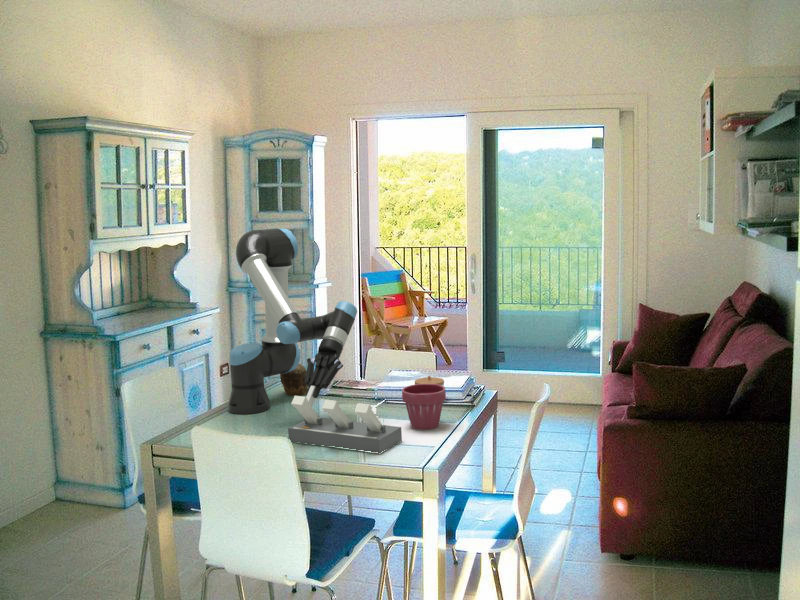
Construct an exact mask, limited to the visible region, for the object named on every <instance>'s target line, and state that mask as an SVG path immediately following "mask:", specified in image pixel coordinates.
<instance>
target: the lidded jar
mask: <svg viewBox="0 0 800 600" xmlns="http://www.w3.org/2000/svg"><path fill="white" fill-rule="evenodd" d="M416 384H437V385H441V386H443V387H445V385H444V384H445V380H444V379H443V378H441V377H433V376H431V375H428V376H427V377H426V376H425V377H419V378H418V379H415V380H414V385H416Z"/></svg>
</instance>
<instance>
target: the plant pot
mask: <svg viewBox="0 0 800 600" xmlns="http://www.w3.org/2000/svg"><path fill="white" fill-rule="evenodd" d="M446 396H447V395H446V388H445V386H444V387H443V386H441V385H437V384H416V385H415V384H411V385H407V386H405V387H403V388H402V389H401V397H402V402H403V403H404V404H405V408H406V411H407V415H408V418H409V421H410V425H411V426H410V427H411V428H412V429H414V430H418V429H419V430H420V431H423V430H425V431H428V430H433V429H437V428H438V427H439V426H440V421H441V414H442V410H443V406H444V405H443V403H444V401H446V398H447V397H446Z"/></svg>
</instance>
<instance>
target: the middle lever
mask: <svg viewBox="0 0 800 600" xmlns="http://www.w3.org/2000/svg"><path fill="white" fill-rule="evenodd" d="M321 409H322V410H323V411H324V412H326V413H327V414H328V415H329V417H330V419H333V420H334V422H335V423H336V424H337V426H339V427H349V422H350V421H351V420H350V418H349V417H348V416H347V415H346V414H345V411H343V410H342V408H341V407H340V403H339V402H338V401H337V400H333V399H331V400H330V399H325V400H324V402H323V404H322V407H321Z"/></svg>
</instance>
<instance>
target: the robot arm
mask: <svg viewBox="0 0 800 600" xmlns="http://www.w3.org/2000/svg"><path fill="white" fill-rule="evenodd" d="M298 253H299V245H298V240H297V238H296V236H295V235H294V233H293V232H292V231H290V229H289V228H288V229H287V228H270V229H269V228H267V229H257V230H254V229H253V230H250V231H247V232H246V233H244V234H243V235H242V236H241V237H240V238H239V240H238V242H237V245H236V248H235V257H236V261H237V262H236V263H238V265H239V268H240V269H241V271H242V272H243V273H244V274H247V275H248V277H249V278H250V281H251V282H252V284H253V286H254V287H255V289H256V290H257V291H258V293H259V295H260V296H261V298H262V300H263V301H264V307H265V308H264V310H265V311H264V313H265V314H264V315H265V335H264V336H263V337H262V338H261V343H260V342H259V343H258V342H249V343H244V344H243V343H242V344H239V345H237V346H235V347H233V348H232V349H231V350H230V351H229V367H230V381H231V391H230V395H229V398H228V404H227V411H228V412H229V413H232V414H237V415H250V414H257V413H258V414H259V413H262V412H265V411H267V410H269V409H271V401H270V398H269V395H268V393H267V390H266V388H265V379H264V378H268V377H274V376H278V375H280V374H285V373H287V372H291V371H293V370H295V368H296V367H297V366H298V364H300V360H301V349H300V348H299V344H298V343H301V342H307V341H315V340H321V342H320V344H319V346H318V351H317V353H316V354H315V356H314V357H313V358H311V357H308V358H307V359H306V362H307V367H306V371H307V372H306V378H305V384H306V385H307V386H308V389H307V392H306V394H305V397H306V398H307V399H308V403H309V405H310V406H311V407H313V405H314V402H315V399H318V397H319V394H320V392H321V390H323V389H325V390H327V388H329V386H330V384H331V383H332V381H333V379H334V378H335V377H336V375H337V374H338V372H339V371H340V370H341V369H342V368H343V367H344V364H343V363H342V361H341V360H340V358H341V355H342V352H343V349H344V347H345V345H346V342H347V339H348V338H349V334H350V332H351V330H352V328H353V325H354V323H355V321H356V317H357V314H358V309H357V306H356V305H354V304H353V303H352V302H349V301H345V300H341V301H338V302H337V304H336V305H335V307H334V310H333V311H331V312H328V313H326V314H324V315H320V316H319V315H317V316H312V317H308V318H307V317H305V318H301V317H300V315H299V313H298V312H297V310H296V309H295V307H294V306H293V304H292V302H291V301H290V299H289V274H288V273H289V269H291V267H292V265H293V261H292V260H294V259H296V257H297V256H298Z"/></svg>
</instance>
